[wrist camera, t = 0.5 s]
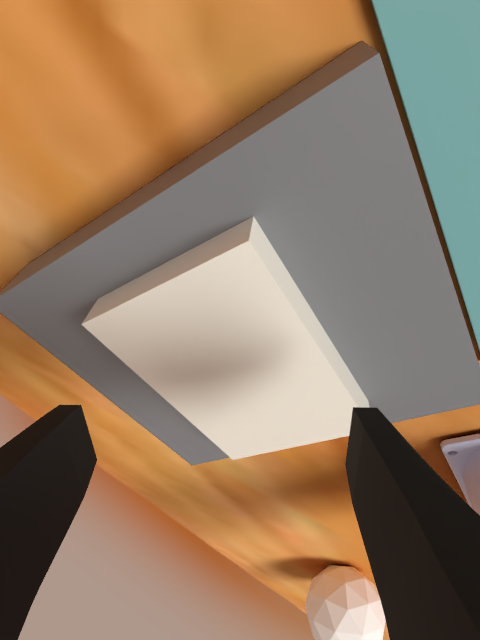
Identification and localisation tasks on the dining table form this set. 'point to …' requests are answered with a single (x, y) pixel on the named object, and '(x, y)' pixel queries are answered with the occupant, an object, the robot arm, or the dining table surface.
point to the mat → (443, 117)
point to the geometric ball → (344, 606)
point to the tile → (232, 346)
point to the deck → (280, 251)
